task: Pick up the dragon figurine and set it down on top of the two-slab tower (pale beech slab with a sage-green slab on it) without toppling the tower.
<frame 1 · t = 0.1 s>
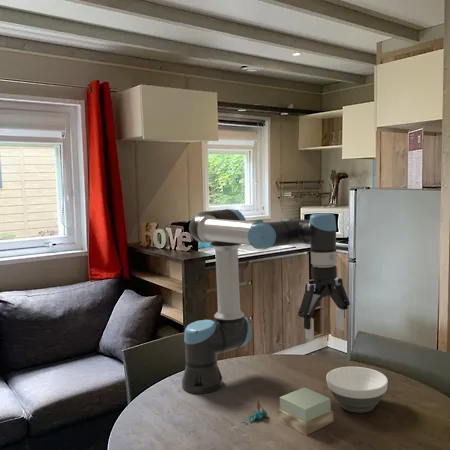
hand: (325, 334, 147), 28 cm above the table, fingers open, 13 cm apart
tower base: (305, 422, 151), on the table, touching tower top
tower top: (305, 410, 150), point 3 cm above the table, touching tower base
dragon figurine: (254, 421, 153), on the table
bowl: (356, 406, 159), on the table
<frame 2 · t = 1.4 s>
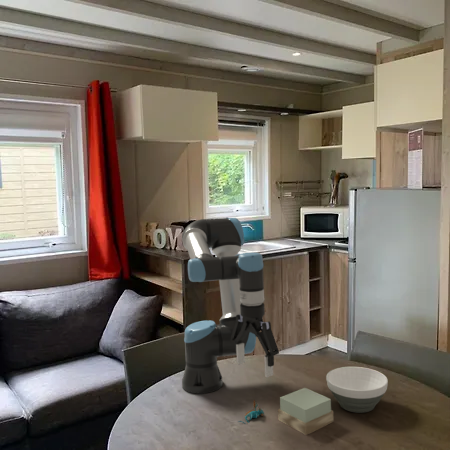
hand: (254, 369, 151), 16 cm above the table, fingers open, 13 cm apart
dragon figurine: (251, 419, 154), on the table
everything else where it was.
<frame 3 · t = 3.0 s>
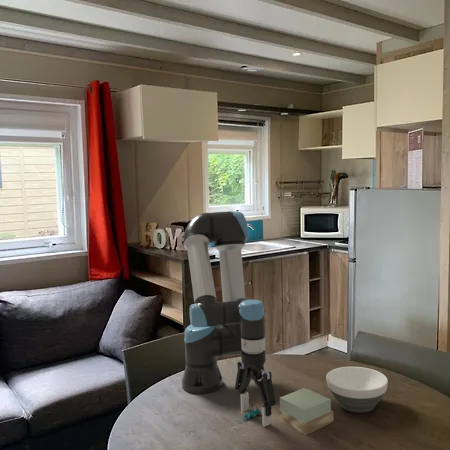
hand: (255, 418, 153), 0 cm above the table, fingers open, 10 cm apart
tower base: (305, 422, 151), on the table
tower top: (305, 410, 150), point 3 cm above the table
dragon figurine: (248, 419, 154), on the table, touching gripper
everything else where it was.
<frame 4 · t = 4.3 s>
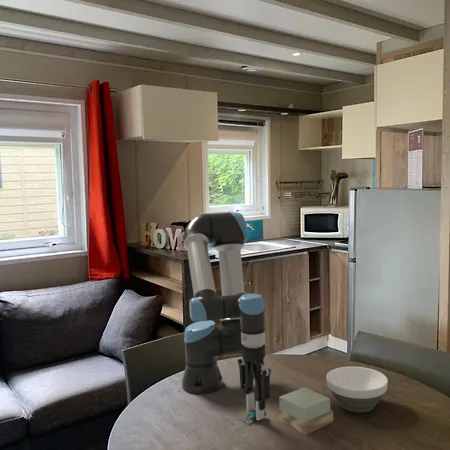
hand: (255, 415, 153), 1 cm above the table, fingers closed on dragon figurine, 4 cm apart
tower base: (305, 422, 151), on the table, touching tower top
tower top: (304, 410, 150), point 4 cm above the table, touching tower base
dragon figurine: (253, 419, 153), on the table, touching gripper
everything else where it was.
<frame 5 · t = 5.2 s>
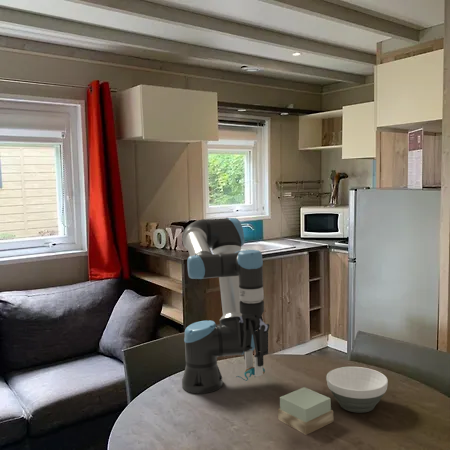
hand: (253, 372, 152), 15 cm above the table, fingers closed on dragon figurine, 4 cm apart
dragon figurine: (251, 376, 151), point 14 cm above the table, touching gripper
everything else where it was.
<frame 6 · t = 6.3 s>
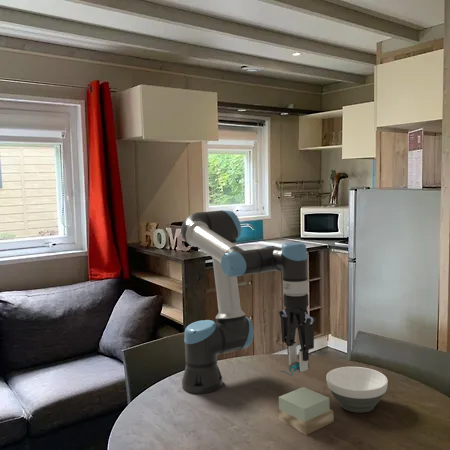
hand: (298, 368, 149), 17 cm above the table, fingers closed on dragon figurine, 4 cm apart
tower base: (305, 421, 151), on the table
tower top: (304, 409, 150), point 4 cm above the table
dragon figurine: (296, 371, 148), point 16 cm above the table, touching gripper
everything else where it was.
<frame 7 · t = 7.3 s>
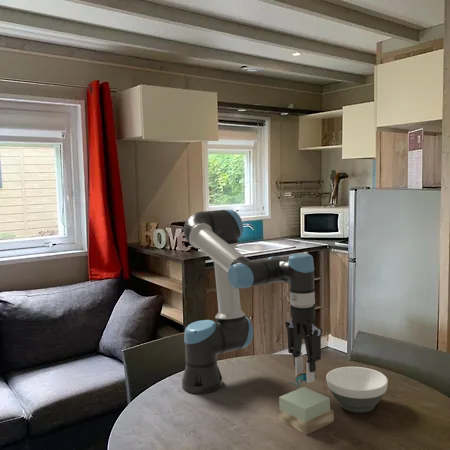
hand: (304, 379, 149), 14 cm above the table, fingers closed on dragon figurine, 4 cm apart
tower base: (306, 422, 151), on the table, touching tower top
tower top: (304, 409, 151), point 3 cm above the table, touching tower base
dragon figurine: (302, 382, 149), point 13 cm above the table, touching gripper
everything else where it was.
when the fingers open (8 cm above the table, at t = 8.4 s): dragon figurine stays where it is, resting on tower top.
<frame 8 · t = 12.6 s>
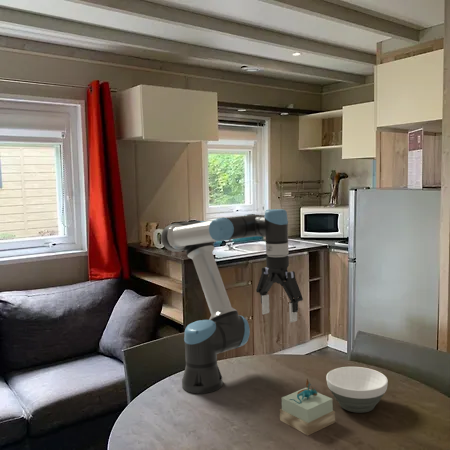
hand: (279, 317, 164), 29 cm above the table, fingers open, 13 cm apart
tower top: (307, 410, 150), point 3 cm above the table, touching dragon figurine, tower base
dragon figurine: (303, 399, 150), point 7 cm above the table, touching tower top
everything else where it was.
at the end: dragon figurine inside the target area on the tower top (0.9 cm from its centre), point 3.8 cm above the tower top's base; tower top 0.1 cm off-centre on the tower base, point 4.0 cm above the tower base's base; dragon figurine touching tower top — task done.
